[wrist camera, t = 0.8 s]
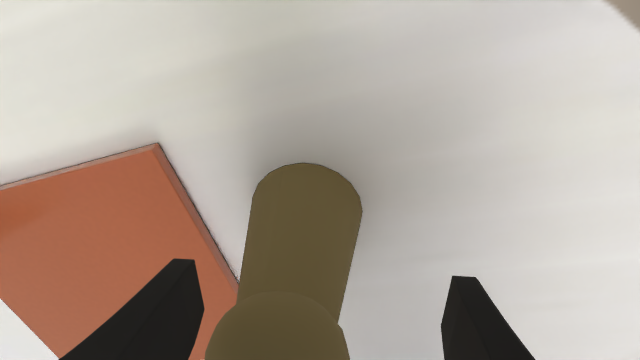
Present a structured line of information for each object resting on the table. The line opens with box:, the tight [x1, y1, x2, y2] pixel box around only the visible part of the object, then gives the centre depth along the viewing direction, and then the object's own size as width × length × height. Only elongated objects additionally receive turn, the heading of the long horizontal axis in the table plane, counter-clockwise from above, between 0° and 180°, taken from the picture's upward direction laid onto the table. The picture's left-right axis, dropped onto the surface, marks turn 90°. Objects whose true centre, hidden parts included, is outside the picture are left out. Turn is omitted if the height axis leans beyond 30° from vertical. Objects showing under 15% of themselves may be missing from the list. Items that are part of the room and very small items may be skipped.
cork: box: [205, 163, 362, 360], centre depth 19 cm, size 6×6×11 cm
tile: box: [0, 143, 239, 360], centre depth 27 cm, size 16×16×1 cm
